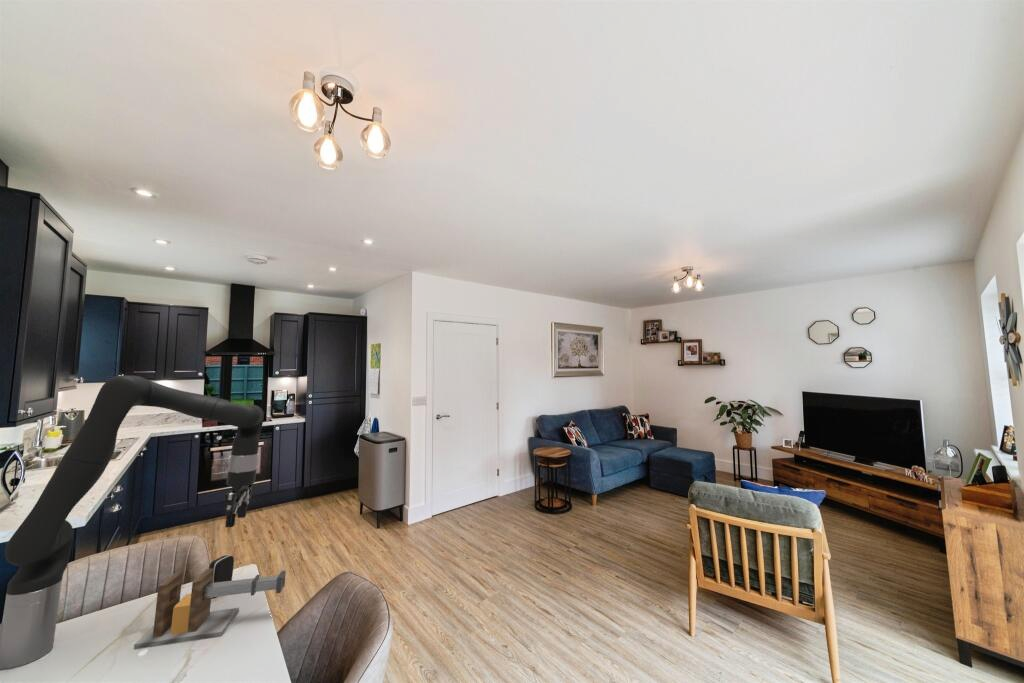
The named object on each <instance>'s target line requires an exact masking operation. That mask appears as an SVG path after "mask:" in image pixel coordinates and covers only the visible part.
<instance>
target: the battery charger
mask: <svg viewBox="0 0 1024 683" xmlns="http://www.w3.org/2000/svg"><path fill="white" fill-rule="evenodd" d="M234 563H235V557H234V555H232V554H229V555H227V554H226V555H225V554H224V555H222V556H221V557H217V559H214V560H212V561H211V562H210V564H209V567H208V569H212V568H214V574H213V583H216V582H225V581H233V574H234V566H235V565H234ZM215 598H216V597H211V599H215Z"/></svg>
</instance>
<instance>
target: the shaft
mask: <svg viewBox="0 0 1024 683" xmlns="http://www.w3.org/2000/svg"><path fill="white" fill-rule="evenodd" d="M286 573H287V570H281V571H280V573H279V574H278V575H272V576H270V575H269V576H260V574H256V575H255V577H254V578H252V577H251V578H242V579H236V580H235V579H234V580H232V581H225V582H216V583H208V584H206V585H205V586H204V588H203V598H211V597H215V598H218V597H225V596H233V595H234V596H235V595H242V594H249V593H250V596H255V594H256V593H258V592H259V593H260V592H265V591H273V590H275V594H281V592H282V591H283V589H284V588H285V586H286V585H285V584H286ZM203 598H202V599H203ZM211 599H212V598H211Z"/></svg>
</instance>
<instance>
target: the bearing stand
mask: <svg viewBox="0 0 1024 683" xmlns="http://www.w3.org/2000/svg"><path fill="white" fill-rule="evenodd" d="M213 574H214V568H212V569H209V568H206V569H205V570H204V571H202V572H201V573H200V575H199V576H198V577H196V578H195V579H194V580H193V581H192V584H191V593H190V594H191V602H190V612H189V622H188V632H183V633H177V634H171V627H172V617H173V608H174V607H175V606H176V604H177V603H178V602H179V601H180V600H181V592H182V582H183V571H177V572H174V573H173V574H171V575H170V576H168V577H167V578H166V579H165V580H164V581H162V582H161V583H160V584H158V586H157V593H156V594H157V595H156V604H155V605H156V606H155V613H154V622H153V623H154V624H153V626H151V628H149V629H148V631H147V632H145V633H144V634H143V635H142V636H141V637H140V638H139V639H137V641H136V642H135V643H134V644H133V650H139V649H145V648H151V647H156V646H157V647H158V646H164V645H172V644H177V643H179V644H180V643H184V642H185V643H186V642H190V641H191V642H193V641H200V640H205V639H206V640H207V639H213V638H218V637H223V635H224V633H225V632H226V631H227V629H228V628H229V627H230V624H232V622H233V620H234V619H235V618H236V617H237V615H238V614H239V612H240V607H236V608H235V607H233V608H225V609H218V610H211V604H212V598H203V588H204V586H205V585H206V584H208V583H213ZM202 598H203V599H202Z"/></svg>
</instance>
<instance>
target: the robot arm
mask: <svg viewBox="0 0 1024 683" xmlns="http://www.w3.org/2000/svg"><path fill="white" fill-rule="evenodd" d="M139 406H140V407H141V406H142V407H154V408H160V409H166V410H170V411H174V412H177V413H180V414H184V415H186V416H190V417H193V418H197V419H202V420H206V421H207V420H208V421H212V422H220V423H223V424H226V425H230V426H232V427H236V428H237V431H236V435H235V436H234V438H233V441H232V446H231V454H230V457H229V462H228V466H227V467H228V468H227V475H226V482H225V485H226V486H228V487H231V491H230V492H226V493H225V499H224V505H223V510H222V514H223V515H226V519H225V526H224V527H225V528H233V527H235V524H236V518H238V519H244V518H245V517H246V516H247V510H248V505H249V503H250V502H252V496H253V495H252V494H253V486H254V483H256V477H257V475H256V474H257V468H258V461H259V460H258V459H259V458H258V456H259V455H258V454H259V453H258V452H259V445H260V436H261V432H262V428H263V423H264V418H265V416H264V414H265V413H264V411H263V408H261V407H260V406H259V405H256V404H249V405H247V404H240V403H236V402H231V401H229V400H227V399H224V398H220V397H217V396H216V397H215V396H211V395H206V394H201V393H195V392H191V391H190V392H189V391H184V390H180V389H177V388H172V387H168V386H166V385H162V384H161V383H157V382H155V381H152V380H149V379H146V378H145V377H142V376H138V375H117V376H114V377H111V378H110V379H109V380H106V382H104V383H103V385H102V386H101V387H100V389H99V391H98V393H97V395H96V398H95V401H94V403H93V405H92V407H91V408H90V412H89V413H88V416H87V418H86V419H85V421H84V423H83V425H82V426H81V428H80V429H79V430H78V431H77V432H78V433H77V434H76V435H75V437H74V438H73V441H71V442H72V443H71V444H70V446H69V447H68V449H67V450H66V452H65V453H64V455H63V456H62V457H61V460H60V461H59V463H58V465H57V466H56V468H55V469H54V472H53V474H52V475H51V477H50V479H49V480H48V482H47V484H46V485H45V486H44V489H43V490H42V493H41V494H40V496H39V498H38V500H37V501H36V503H35V505H33V508H32V509H31V511H30V512H29V513H28V515H27V516H26V517H25V518H24V520H23V521H22V523H21V524H20V525H19V527H18V528H17V529H16V531H14V533H13V534H12V535H11V537H10V538H9V540H8V542H7V543H6V546H5V549H4V556H5V559H6V562H8V564H10V565H13V566H16V567H19V568H18V570H17V571H16V573H15V574H14V575H13V576H12V577H11V578H10V580H9V581H8V583H7V587H6V588H7V589H6V594H5V602H4V607H3V608H4V609H3V616H2V621H1V623H0V670H5V669H4V668H8V669H12V668H16V667H20V666H23V665H27V664H29V663H31V662H34V661H36V660H38V659H40V658H42V657H44V656H45V655H47V654H48V653H49V652H51V651H52V649H53V648H54V642H55V634H56V629H57V628H56V626H57V620H58V613H59V606H60V599H61V598H60V597H61V591H62V584H63V577H64V576H63V575H64V572H65V571H66V569H67V567H68V565H69V562H70V557H71V552H72V546H73V542H74V528H73V526H72V524H71V523H70V522H69V521H68V520H66V519H67V518H68V516H69V515H70V513H71V512H72V510H73V509H74V508H75V506H76V505H77V504H79V502H80V501H81V500H82V499H83V498H84V497H85V496H86V495H87V493H88V492H89V491H90V490H91V489H92V488H93V487H94V486H95V484H96V483H97V482H98V481H99V480H100V478H101V476H102V475H103V474H104V472H105V470H106V468H107V467H108V465H109V464H110V461H112V460H111V459H112V458H113V456H114V452H115V449H116V443H117V437H118V433H119V430H120V427H121V424H122V423H123V421H124V420H125V418H126V417H127V415H128V413H129V412H130V411H131V409H132V408H133V407H139Z"/></svg>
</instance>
